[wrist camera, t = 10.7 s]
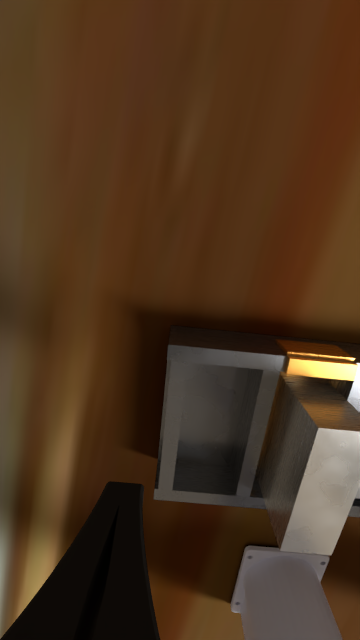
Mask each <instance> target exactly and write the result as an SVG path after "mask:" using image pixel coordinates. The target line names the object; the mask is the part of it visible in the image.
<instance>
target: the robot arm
mask: <svg viewBox="0 0 360 640" xmlns="http://www.w3.org/2000/svg"><path fill="white" fill-rule="evenodd" d="M143 493H144V486H143V485H142V484H133V483H122V482H108V483H107V484H106V486H105V488H104V490H103V492H102V494H101V496H100V498H99V500H98V502H97V503H96V505H95V507H94V509H93V510H92V512H91V514H90V516H89V517H88V519H87V521H86V522H85V524H84V525H83V527H82V528H81V530H80V532H79V533H78V535H77V536H76V538H75V540H74V541H73V543H72V544H71V546H70V547H69V549H68V550H67V552H66V553H65V554H64V556H63V557H62V559H61V560H60V562H59V563H58V565H57V566H56V567H55V569H54V570H53V572H52V573H51V575H50V576H49V577H48V579H47V580H46V582H45V583H44V584H43V586H42V587H41V588H40V590H39V591H38V592H37V594H36V595H35V596H34V598H33V599H32V600H31V602H30V603H29V604H28V605H27V607H26V608H25V609H24V611H23V612H22V613H21V614H20V616H19V617H18V618H17V619H16V621H15V622H14V623H13V624H12V626H11V627H10V628H9V629H8V630H7V632H6V633H5V634H4V635H3V637H2V638H1V639H0V640H160V637H159V632H158V627H157V622H156V617H155V612H154V607H153V601H152V595H151V589H150V583H149V576H148V569H147V562H146V554H145V544H144V534H143V514H142V506H143ZM328 562H329V556H328V555H321V554H309V553H297V552H285V551H280V550H279V548H273V547H261V546H247V547H246V548H245V550H244V554H243V558H242V562H241V566H240V570H239V574H238V577H237V581H236V585H235V589H234V593H233V597H232V601H231V610H232V611H233V612H237V613H241V618H242V625H243V631H244V638H245V640H343V639H342V636H341V634H340V631H339V629H338V626H337V624H336V621H335V619H334V616H333V614H332V611H331V609H330V606H329V604H328V601H327V599H326V596H325V594H324V591H323V589H322V586H321V584H320V582H321V579H322V577H323V574H324V572H325V569H326V567H327V564H328Z"/></svg>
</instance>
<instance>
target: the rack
mask: <svg viewBox="0 0 360 640" xmlns="http://www.w3.org/2000/svg"><path fill="white" fill-rule="evenodd" d="M280 371H282V372H285V373H286V374H289V375H299V376H310V377H320V378H325V379H326V380H327V381H328V382H329V383H330V384H331V385H332V386H333V387H334V388H335V389H336V390H337V391H338V392H339V393H340V394H341V395H342V396H343V397H344V398H345V399H346V400H347V401H348V402H349V403H350V404H351V405H352V406H353V407H354V408H355V409H356V410H357V411H358V412H359V413H360V344H354V343H344V342H334V341H324V340H314V339H303V338H293V337H283V336H273V335H263V334H253V333H243V332H233V331H223V330H213V329H203V328H193V327H183V326H173V325H171V329H170V336H169V343H168V353H167V370H166V381H165V391H164V402H163V412H162V422H161V433H160V443H159V454H158V464H157V472H156V481H155V490H154V499H155V500H166V501H178V502H190V503H201V504H213V505H224V506H236V507H247V508H259V509H267V508H266V505H265V502H264V498H263V495H262V492H261V489H260V486H259V482H258V479H257V476H256V469H257V465H258V461H259V457H260V453H261V449H262V444H263V440H264V436H265V432H266V428H267V424H268V420H269V416H270V412H271V407H272V403H273V399H274V395H275V391H276V387H277V383H278V379H279V375H280ZM348 516H352V517H360V487H359V489H358V492H357V494H356V496H355V499H354V501H353V504H352V506H351V509H350V511H349V514H348Z"/></svg>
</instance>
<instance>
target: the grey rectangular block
mask: <svg viewBox="0 0 360 640" xmlns="http://www.w3.org/2000/svg"><path fill="white" fill-rule="evenodd" d="M256 476H257V479H258V482H259V486H260V489H261V492H262V495H263V498H264V502H265V505H266V508H267V511H268V515H269V518H270V521H271V524H272V528H273V531H274V534H275V537H276V540H277V544H278V547H279V550H280V551H285V552H297V553H309V554H321V555H332V553H333V551H334V548H335V546H336V543H337V541H338V538H339V536H340V533H341V531H342V528H343V526H344V524H345V521H346V519H347V516H348V514H349V511H350V509H351V506H352V504H353V501H354V499H355V496H356V494H357V492H358V489H359V487H360V413H359V412H358V411H357V410H356V409H355V408H354V407H353V406H352V405H351V404H350V403H349V402H348V401H347V400H346V399H345V398H344V397H343V396H342V395H341V394H340V393H339V392H338V391H337V390H336V389H335V388H334V387H333V386H332V385H331V384H330V383H329V382H328V381H327V380H326V379H325V378H320V377H310V376H299V375H289V374H286V373H285V372H282V371H280V375H279V379H278V383H277V387H276V391H275V395H274V399H273V403H272V407H271V412H270V416H269V420H268V424H267V428H266V432H265V436H264V440H263V444H262V449H261V453H260V457H259V461H258V465H257V469H256Z"/></svg>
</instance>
